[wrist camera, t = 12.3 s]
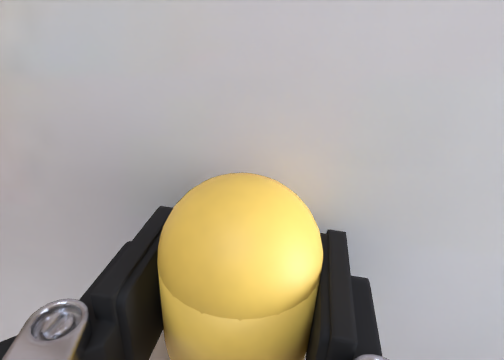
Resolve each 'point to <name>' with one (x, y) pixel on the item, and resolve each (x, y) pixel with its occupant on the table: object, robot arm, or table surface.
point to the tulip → (239, 271)
